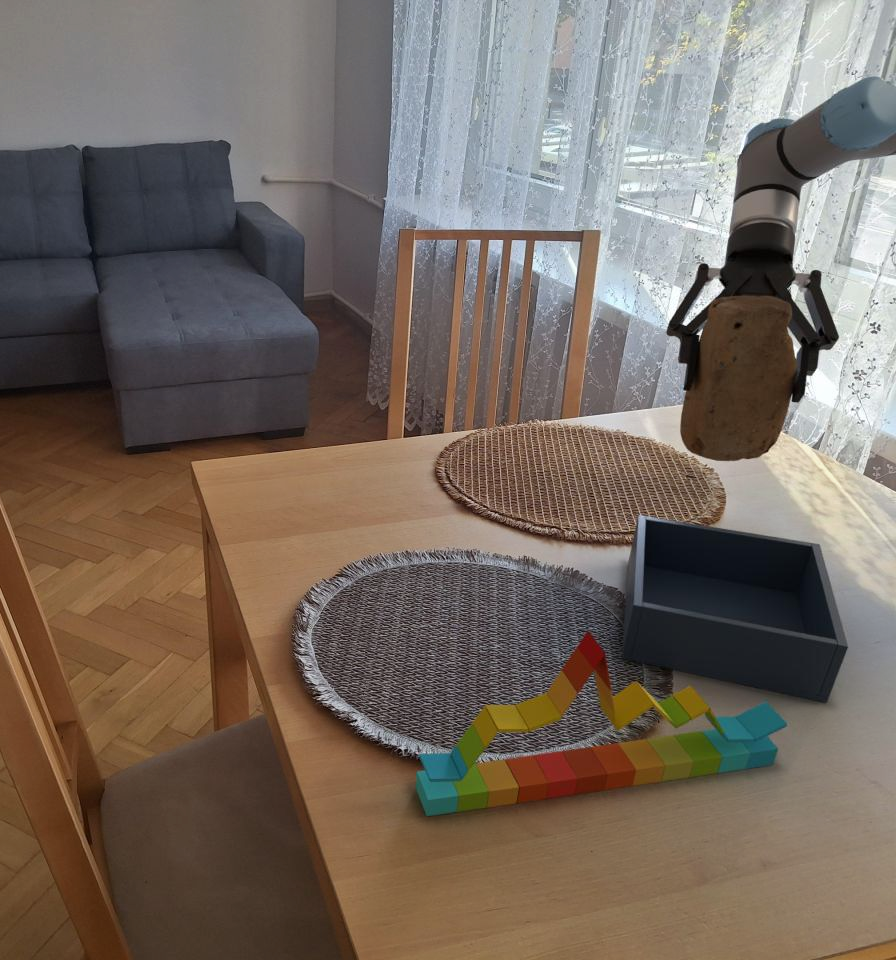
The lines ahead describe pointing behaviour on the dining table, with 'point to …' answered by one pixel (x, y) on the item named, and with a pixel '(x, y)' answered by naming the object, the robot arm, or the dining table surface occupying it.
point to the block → (740, 379)
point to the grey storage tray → (732, 608)
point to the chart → (584, 770)
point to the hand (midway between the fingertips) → (741, 392)
